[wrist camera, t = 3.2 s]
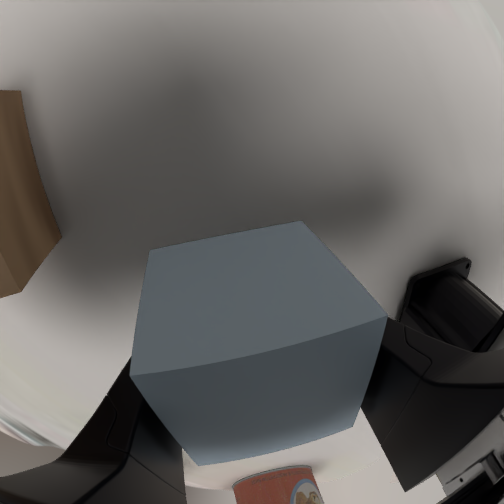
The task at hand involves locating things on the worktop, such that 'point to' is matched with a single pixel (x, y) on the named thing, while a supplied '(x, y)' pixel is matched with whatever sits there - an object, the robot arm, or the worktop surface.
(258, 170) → the worktop surface
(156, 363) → the cube
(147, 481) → the robot arm
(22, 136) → the walnut block
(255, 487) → the canned food
